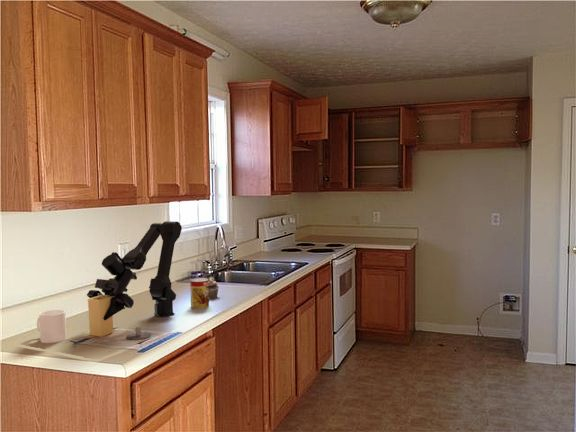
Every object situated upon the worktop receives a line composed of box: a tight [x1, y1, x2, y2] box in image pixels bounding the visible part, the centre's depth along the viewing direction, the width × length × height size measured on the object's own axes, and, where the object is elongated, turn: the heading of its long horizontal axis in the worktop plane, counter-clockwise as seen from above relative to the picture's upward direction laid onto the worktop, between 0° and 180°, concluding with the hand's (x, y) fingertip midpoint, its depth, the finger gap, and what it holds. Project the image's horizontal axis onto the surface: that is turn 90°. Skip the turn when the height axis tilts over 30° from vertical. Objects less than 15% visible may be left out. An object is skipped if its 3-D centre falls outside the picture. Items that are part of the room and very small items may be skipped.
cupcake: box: [202, 275, 219, 300], centre depth 244 cm, size 10×10×10 cm
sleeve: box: [87, 295, 114, 337], centre depth 182 cm, size 6×6×13 cm
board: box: [82, 325, 157, 345], centre depth 181 cm, size 23×11×4 cm, turn 74°
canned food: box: [189, 277, 210, 310], centre depth 225 cm, size 8×8×12 cm
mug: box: [36, 309, 67, 344], centre depth 178 cm, size 12×8×10 cm
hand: (98, 318), depth 181 cm, fingers closed on sleeve, 6 cm apart
